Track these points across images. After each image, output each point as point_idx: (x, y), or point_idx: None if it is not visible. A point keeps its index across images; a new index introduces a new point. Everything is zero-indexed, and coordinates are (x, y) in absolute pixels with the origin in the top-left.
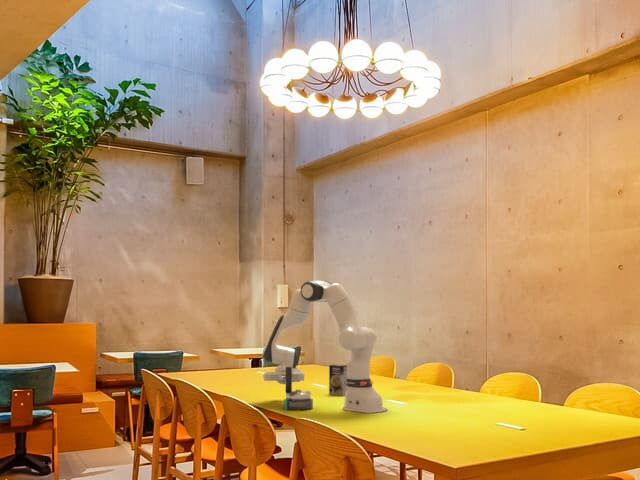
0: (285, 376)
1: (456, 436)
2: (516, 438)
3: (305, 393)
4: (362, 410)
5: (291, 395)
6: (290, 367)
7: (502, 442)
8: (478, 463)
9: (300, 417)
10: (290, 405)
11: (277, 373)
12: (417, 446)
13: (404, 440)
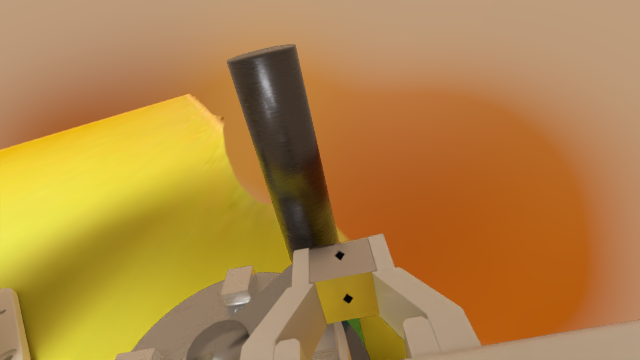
0: (322, 246)
1: (83, 148)
2: (24, 155)
3: (174, 342)
4: (12, 296)
5: None
6: (247, 53)
7: (64, 141)
8: (162, 101)
9: None
10: None
11: (552, 350)
12: (173, 115)
13: (168, 125)
